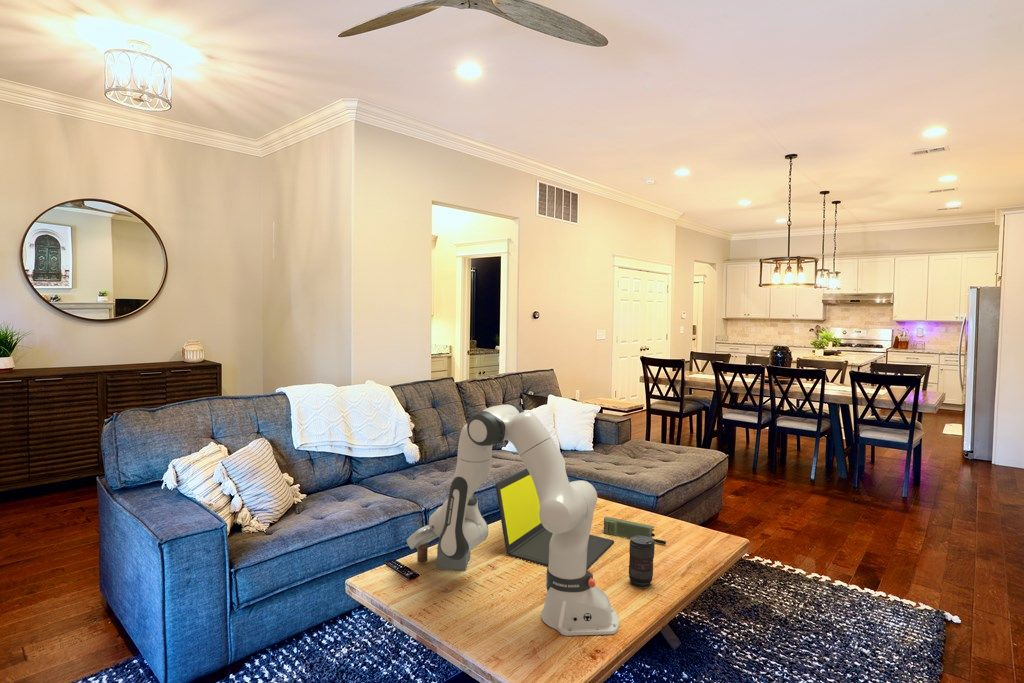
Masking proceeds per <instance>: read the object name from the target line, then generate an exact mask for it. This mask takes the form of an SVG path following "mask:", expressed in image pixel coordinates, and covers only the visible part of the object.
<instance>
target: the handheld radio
mask: <svg viewBox="0 0 1024 683" xmlns="http://www.w3.org/2000/svg"><path fill="white" fill-rule="evenodd" d="M655 528H656V527H655V525H650V524H644V523H639V522H635V521H630V520H625V519H621V518H620V519H619V518H615V517H610V516H604V517H603V534H605V535H606V534H607V535H610V536H615V537H620V538H624V539H629V540H631V537H633V536H638V535H640V536H647V537H650V538H652V539H653V540H654V543H657V544H662V545H666V544H667V541H666V540H663V539H657V538H656V539H655V538H653V537H655V536H656V535H655V533H654V532H655Z"/></svg>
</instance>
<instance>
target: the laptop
mask: <svg viewBox="0 0 1024 683" xmlns="http://www.w3.org/2000/svg"><path fill="white" fill-rule="evenodd" d="M494 485H495V491H496V497H497V498H496V499H497V503H498V509H499V510H498V511H499V515H500V522H501V529H502V533H503V534H502V535H503V540H504V547H505V552H506V553H505V554H506V555H507V556H508V557H510V556H511V558H513V557H515V558H514V559H517V558H519V559H518V560H521V559H522V560H521V561H524V560H526V561H525V562H528V561H530V562H529V563H531V562H533V563H532V564H535V563H536V564H535V565H538V564H540V565H539V566H542V565H543V567H545V566H546V568H548V567H549V543H550V540H551V537H552V535H553V533H551V532H549V531H548V530H546V529H545V528H544V526H543V525H542V523H541V521H540V517H539V511H540V504H539V499H538V495H537V492H536V488H535V485H534V482H533V480H532V478H531V476H530V474H529V472H528V470H527V468H526V467H525V468H523V470H520V471H518V472H516V473H514V474H511V475H510V476H508V477H506V478H504V479H501V480H500V481H498V482H495V484H494ZM614 544H615V540H613V539H610V538H605V537H602V536H598V535H594V534H590V535H589V540H588V547H587V566H586V570H588V571H589V570H590V568H591V567H592V566H593V565H594V564H595V563H596V562H597V561H598V560H599V559H600V558H601V557H602V556H603V555H604V554H605V553H606V552H607V551H608V550H609V549H610V548H611V547H612V546H613V545H614Z"/></svg>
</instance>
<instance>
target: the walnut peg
mask: <svg viewBox="0 0 1024 683" xmlns="http://www.w3.org/2000/svg"><path fill="white" fill-rule="evenodd" d="M428 545H429V543H428V542H427V543H425V544H422V545H421V546H420V547H418V548H416V549H417V550H416V551H417V552H416V553H417V554H416V557H417V558H416V559H417V560H416V561H417V562H418V563H421V564H422V563H427V562H428V556H429V555H428V553H429V552H428V547H429V546H428Z"/></svg>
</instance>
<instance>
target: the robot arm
mask: <svg viewBox="0 0 1024 683" xmlns="http://www.w3.org/2000/svg"><path fill="white" fill-rule="evenodd" d="M460 431H461V432H460V434H459V440H458V446H457V459H456V460H457V461H456V466H455V472H454V475H453V476H454V477H453V479H452V481H451V484H450V487H449V488H450V489H449V491H448V498H447V499H446V500H445V501H444V502H443V504H442V505H441V506H439V507H437V508H436V510H435V511H434V512H433V513H432V514H431V515H430V516H429V519H428V525H427V524H426V525H425V526H423V527H420V528H419V529H417V530H416V531H415V532H413V533H411V535H410V536H409V537H408V538H407V539H406V543H407V546H408V547H409V548H410V550H414V549H417V548H418V547H420V546H421V545H422V544H425V543H427V542H428V544H429V543H431V541H433V540H435V539H437V538H438V539H439V540H438V541H439V542H438V544H440V548H441V551H442V552H443V554H444V555H445V556H447V557H448V558H450V559H453V560H460V559H462V558H463V557H464V556H465V555H466V554H467V553H468V552H469V551H472V550H474V549H475V548H476V547H478V546H479V545H481V543H483V542H484V541H485V540H486V539H487V538H488V536H489V526H488V523H487V521H486V520H485V518H484V517H483V516H482V514H481V512H480V509H479V503H478V502H479V501H478V497H477V496H476V495H475V494H474V493H475V492H476V491H477V489H478V488H479V487H480V486H481V485H483V483H485V481H486V480H487V479H488V477H489V476H490V472H491V469H492V461H493V460H492V459H493V458H492V457H493V455H492V454H493V445H498V444H502V443H503V442H504V441H507V442H510V443H511V444H512V445H513V446H514V448H515V450H516V452H517V454H518V455H519V457H520V460H522V463H523V465H524V466H525V469H526V468H527V470H528V472H529V474H530V476H531V478H532V480H533V482H534V485H535V488H536V492H537V495H538V499H539V504H540V511H539V517H540V521H541V523H542V525H543V526H544V528H545V529H546V530H548V531H549V532H551V533H553V535H552V537H551V540H550V543H549V567H546V573H545V588H546V594H545V599H544V605H543V608H542V610H541V613H540V614H541V615H540V617H541V619H542V621H543V622H544V623H545V624H546V625H547V626H549V627H550V628H552V629H555V630H557V631H558V633H559V634H561V635H562V636H571V637H572V636H594V635H595V636H597V635H598V636H601V635H615V634H616V633H617V632H618V631H619V628H620V620H619V615H618V613H617V611H616V610H615V608H613V607H612V604H611V601H610V599H609V596H608V595H607V594H606V592H604V590H602V589H600V588H599V587H598V586H597V585H596V580H595V579H594V574H593V572H592V571H591V569H588V570H586V566H587V547H588V540H589V535H591V529H592V525H593V519H594V513H595V509H596V506H597V503H598V493H597V490H596V488H595V487H594V486H593V484H591V483H590V482H588V481H587V480H583V479H582V480H581V479H579V480H574V481H569V477H568V475H567V470H566V460H565V457H564V456H563V454H562V453H561V451H560V449H559V447H558V445H557V444H556V442H555V441H554V439H553V437H552V436H551V434H550V432H549V431H548V430H547V428H546V426H545V425H544V423H543V422H542V421H541V420H540V419H539V417H538V416H537V415H536V414H535V413H533V412H532V411H525V410H524V409H523V408H522V407H521V406H520V405H519V404H517V403H511V402H506V403H502V404H498V405H495V406H494V405H493V406H490V407H487V408H485V409H483V410H480V411H477V412H475V413H474V414H473V415H472V416H470V418H469V419H468V421H467V423H466V424H464V425H463V427H462V428H461V430H460Z"/></svg>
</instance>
